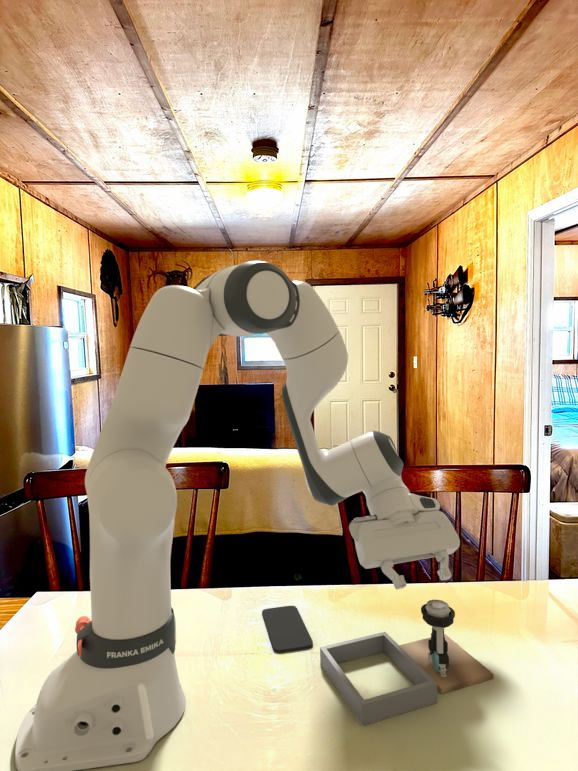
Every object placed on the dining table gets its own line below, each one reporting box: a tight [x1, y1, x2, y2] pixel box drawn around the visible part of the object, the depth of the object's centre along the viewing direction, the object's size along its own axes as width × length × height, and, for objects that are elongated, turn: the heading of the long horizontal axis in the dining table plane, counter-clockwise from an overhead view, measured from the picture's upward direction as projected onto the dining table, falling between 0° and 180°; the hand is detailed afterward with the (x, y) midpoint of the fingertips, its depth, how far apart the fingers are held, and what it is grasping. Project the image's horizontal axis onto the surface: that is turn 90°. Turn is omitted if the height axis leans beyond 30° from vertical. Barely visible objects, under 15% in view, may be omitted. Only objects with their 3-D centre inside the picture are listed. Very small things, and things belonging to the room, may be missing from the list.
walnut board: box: [398, 633, 494, 695], centre depth 80 cm, size 10×12×1 cm
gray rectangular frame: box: [319, 631, 438, 727], centre depth 75 cm, size 13×15×3 cm
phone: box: [261, 605, 314, 654], centre depth 91 cm, size 7×1×15 cm
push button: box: [420, 599, 456, 677], centre depth 77 cm, size 7×5×10 cm
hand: (424, 583), depth 84 cm, fingers open, 8 cm apart
